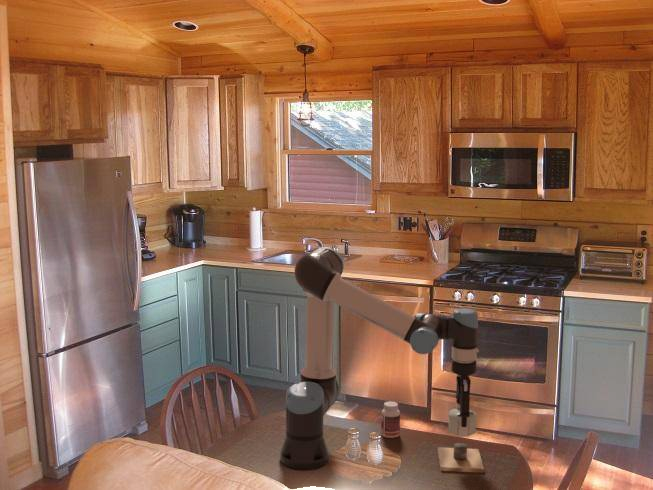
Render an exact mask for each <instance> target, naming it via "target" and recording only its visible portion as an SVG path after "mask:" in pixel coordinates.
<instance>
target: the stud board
mask: <svg viewBox="0 0 653 490" xmlns="http://www.w3.org/2000/svg"><path fill="white" fill-rule="evenodd" d="M436 452H437V456H438V461H439V463H438V464H439V469H440V472H458V473H460V472H461V473H463V472H464V473H483V474H484V473H485V468H484V464H483V461H482V457H481V453H480V450H479V448H468V445H467V444H466V443H462V442H455V443H454V444H453V447H440V446H437V451H436Z"/></svg>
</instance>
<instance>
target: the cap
mask: <svg viewBox="0 0 653 490" xmlns="http://www.w3.org/2000/svg"><path fill="white" fill-rule="evenodd" d="M458 414H460V409H456V408H453V409H451V410H449V412H448V431H449V433H450V434H452V435H455V436H458V437H460V436H459V417H458ZM469 414H470V416H469V417H468V436H467V437H469V436H472V435H474V434H476V432H477V431H476V429H477V428H476V427H477V426H476V425H477V413H476V412H475V411H474V410H472V409H469Z"/></svg>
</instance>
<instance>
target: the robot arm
mask: <svg viewBox="0 0 653 490" xmlns="http://www.w3.org/2000/svg"><path fill="white" fill-rule="evenodd" d="M294 266H295V267H294V278H295V281H296V283H297V285H299V287H300V288H301V289H302V291H303V292H304V293H305V294H306V298H307V300H306V329H305V331H306V334H305V337H306V339H305V366H304V367H303V368H302V369H301V370H300V382H298V383H294V384H292V385H290V386H289V388H288V389H287V391H286V393H285V402H284V403H285V437H284V439H283V440H284V441H283V443H282V446H281V450H280V452H279V453H280V454H279V457H280V458H279V460H280V463H281V464H282V465H284V466H285V467H287V468H289V469H293V470H302V471H309V470H310V471H311V470H315V469H319V468H321V467H322V468H323V466H325V465H326V464H328V463H329V460H328V459H329V455H330V453H329V449H328V447H327V443H326V441H325V437H324V417H325V415H326V414H327V412H328V411H329V410H330V409H331V408H332V407H333V406H334V404H335V403H336V401H337V399H338V397H339V394H340V384H339V381H338V378H337V371H336V369H334V367H333V346H334V345H333V341H334V318H335V317H334V316H335V315H334V312H335V309H334V308H335V305H337V306H340V307H341V308H343V309H345V310H347V311H349V312H350V313H352V314H353V315H356V316H358V317H359V318H362V319H364V320H365V321H367V322H368V323H371V324H373V325H374V326H376V327H378V328H380V329H382V330H383V331H385V332H387V333H389V334H391V335H394V336H395V337H397V338H398V339H400V340H402V341H404V342H406V343H408V344H409V345H410V347H411V349H412V350H413V351H414V352H415V353H417V354H419V355H427V354H430V353H431V352H433V351H434V350H435V348H437V346H438V344H439V341H440V340H442V341H443V340H444V341H451V342H452V344H451V358H452V359H451V369H450V371H451V372H452V373H453V374H455V375H456V377H455V380H456V390H455V391H456V393H455V399H456V400H455V402H456V404H455V405H456V406H455V409H460V414H458V417H459V436H458V437H469V436H468V417H469V416H470V414H469V410H470V402H471V401H470V397H471V396H470V395H471V394H470V393H471V384H472V383H471V378H470V375H471V376H472V375H474V374H476V373H477V364H478V363H477V361H476V360H477V358H478V357H477V356H478V355H477V353H479V352H480V350H479V348H478V339H479V338H478V337H479V336H478V335H479V334H478V333H479V313H478V312H477V311H476V310H475V309H471V308H464V307H463V308H457V309H456V308H455V309H454V310H453V313H452V315H450V314H449V315H448V314H437V313H428V312H424V313H422V312H420V313H419V312H417V313H415V314H414V316H413V315H412V314H410V313H408V312H406V311H404V310H402V309H400V308H398V307H397V306H395V305H393V304H391V303H389V302H387V301H385V300H383V299H381V298H379V297H378V296H375V295H374V294H372V293H370V292H368V291H367V290H365V289H363V288H361V287H359V286H357V285H355V284H353V283H351V282H349V281H347V280H346V279H344V278H342V275H343V271H344V267H345V266H344V259H343V257H342V256H341V254H340V253H339V252H338V251H337V250H336V249H334V248H332V247H328V246H320V247H316V248H314V249H313V250H311V251H310V252H308V253H306V254H304V255H302V256H301V257H300V258H299V259H298V260H297V262H296V264H295V265H294Z"/></svg>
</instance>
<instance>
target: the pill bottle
mask: <svg viewBox="0 0 653 490" xmlns="http://www.w3.org/2000/svg"><path fill="white" fill-rule="evenodd" d="M400 427H401V411H400V410H399V403H398V402H396V401H385V402H384V404H383V409H382V410H381V430H380V431H381V436H382V437H384V438H387V439H388V438H389V439H395V437H396V438H398V437H399V436H400V432H401V431H400V430H401V429H400Z"/></svg>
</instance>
